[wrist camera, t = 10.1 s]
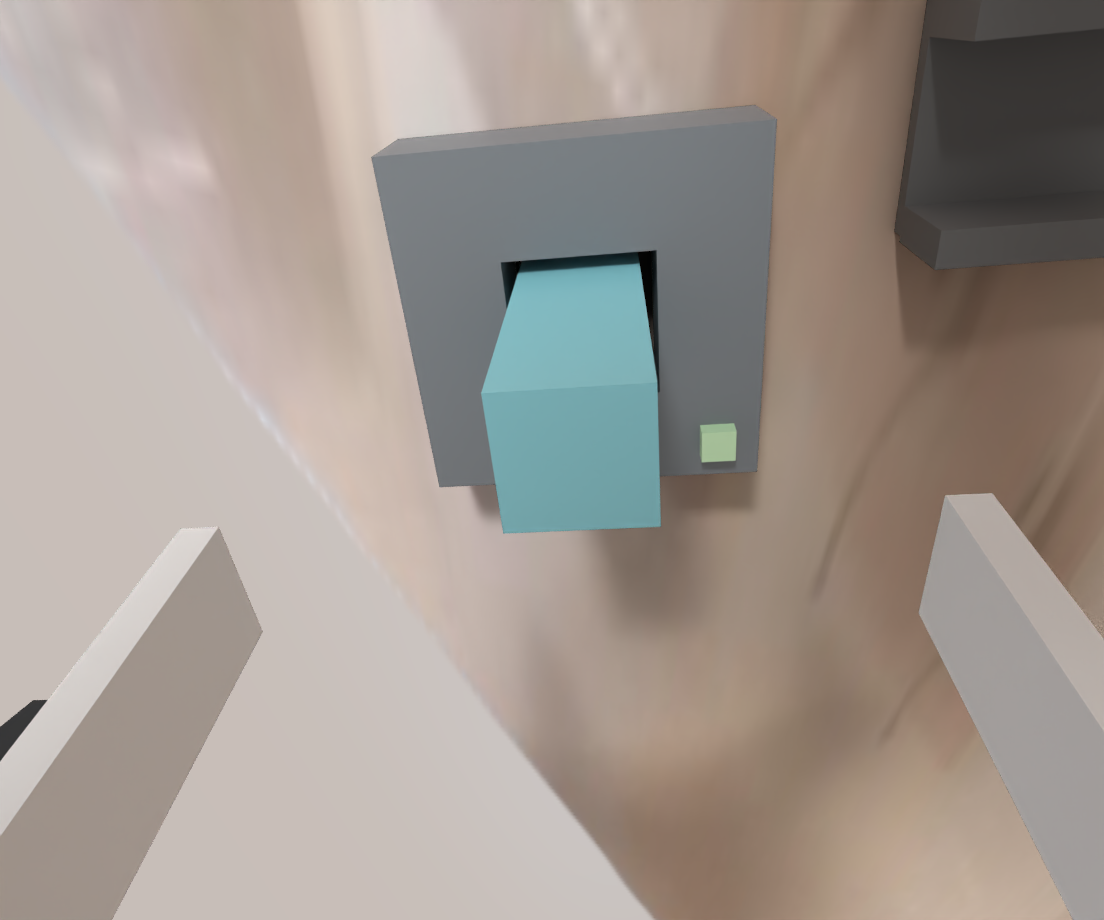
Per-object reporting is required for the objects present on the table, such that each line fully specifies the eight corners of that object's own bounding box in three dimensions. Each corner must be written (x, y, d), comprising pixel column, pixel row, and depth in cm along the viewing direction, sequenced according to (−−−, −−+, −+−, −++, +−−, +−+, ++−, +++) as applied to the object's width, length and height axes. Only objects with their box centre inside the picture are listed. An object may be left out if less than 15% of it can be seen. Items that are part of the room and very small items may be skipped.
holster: (928, -10, 22) (983, -12, 19) (1214, -41, 22) (1322, -48, 18) (893, 237, 26) (934, 270, 23) (1135, 218, 26) (1213, 249, 22)
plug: (526, 247, 27) (481, 393, 17) (635, 238, 27) (657, 382, 17) (537, 348, 29) (503, 533, 19) (639, 342, 29) (661, 526, 19)
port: (397, 139, 26) (365, 160, 22) (755, 104, 24) (781, 122, 21) (454, 441, 32) (436, 495, 28) (741, 425, 31) (760, 480, 27)
